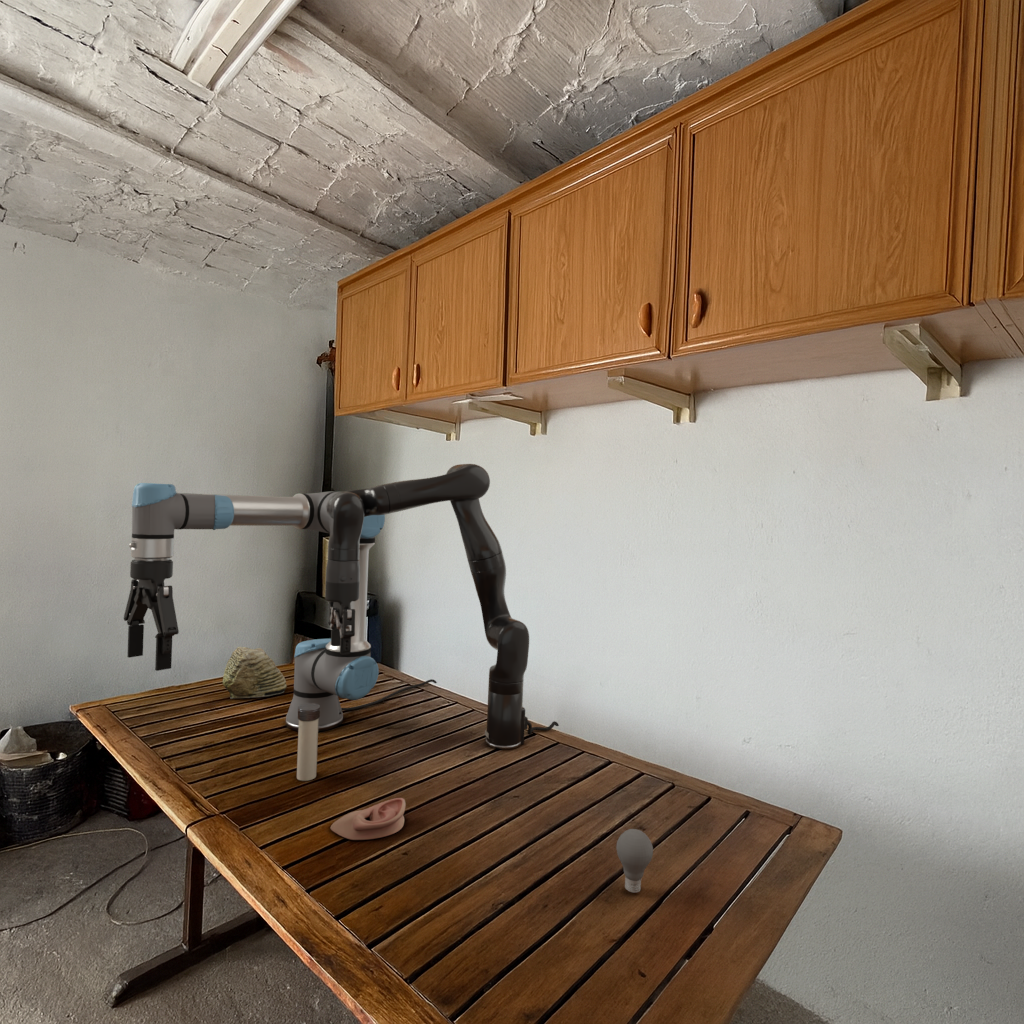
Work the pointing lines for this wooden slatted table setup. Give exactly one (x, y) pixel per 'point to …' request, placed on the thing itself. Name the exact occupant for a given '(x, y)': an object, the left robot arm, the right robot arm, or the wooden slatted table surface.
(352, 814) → the anatomical model
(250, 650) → the fossil
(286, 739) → the wooden slatted table surface
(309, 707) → the lid
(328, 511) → the right robot arm
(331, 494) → the left robot arm
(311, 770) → the beige cylinder
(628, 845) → the light bulb
